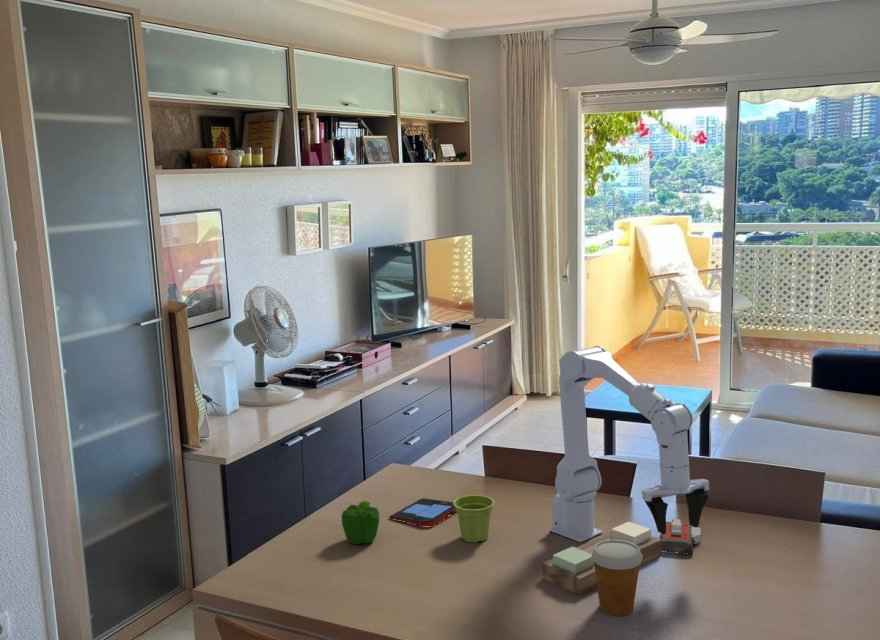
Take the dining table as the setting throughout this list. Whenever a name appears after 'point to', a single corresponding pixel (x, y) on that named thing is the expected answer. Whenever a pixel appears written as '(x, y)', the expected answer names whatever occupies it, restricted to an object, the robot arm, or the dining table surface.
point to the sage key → (573, 560)
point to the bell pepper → (360, 523)
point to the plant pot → (474, 516)
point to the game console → (425, 512)
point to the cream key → (631, 533)
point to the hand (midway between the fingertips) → (678, 529)
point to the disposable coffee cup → (616, 575)
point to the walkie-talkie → (680, 537)
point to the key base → (588, 577)
